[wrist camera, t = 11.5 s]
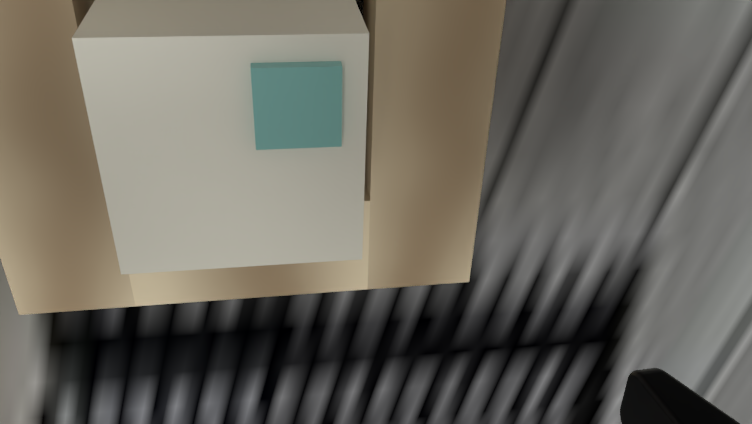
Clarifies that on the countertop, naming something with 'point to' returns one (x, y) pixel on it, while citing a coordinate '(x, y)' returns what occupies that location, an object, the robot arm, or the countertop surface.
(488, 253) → the countertop surface
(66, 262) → the socket block
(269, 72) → the cream block
